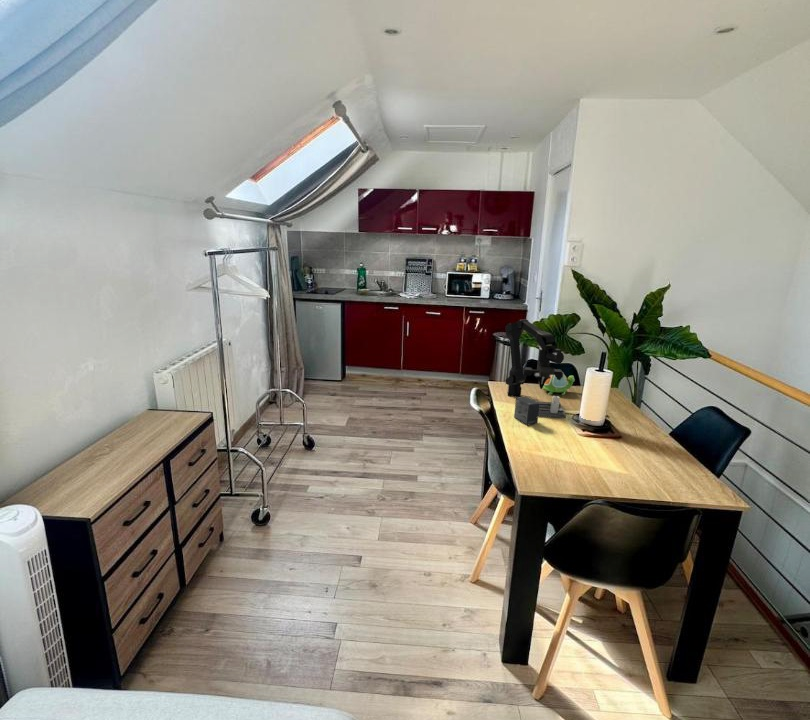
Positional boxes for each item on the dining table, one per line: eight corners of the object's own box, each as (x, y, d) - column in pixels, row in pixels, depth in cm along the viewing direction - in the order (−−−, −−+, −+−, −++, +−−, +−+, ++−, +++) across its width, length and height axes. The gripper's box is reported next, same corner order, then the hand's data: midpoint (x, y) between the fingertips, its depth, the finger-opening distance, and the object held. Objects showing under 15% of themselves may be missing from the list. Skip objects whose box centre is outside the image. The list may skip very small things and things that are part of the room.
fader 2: (551, 413, 222) (552, 403, 221) (550, 410, 225) (551, 400, 224) (557, 413, 222) (558, 403, 220) (556, 411, 225) (557, 401, 223)
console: (533, 416, 223) (534, 411, 222) (529, 403, 240) (530, 399, 239) (566, 418, 221) (566, 414, 220) (559, 405, 238) (560, 401, 237)
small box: (538, 424, 213) (540, 402, 210) (526, 426, 211) (528, 404, 208) (524, 416, 223) (526, 395, 220) (513, 417, 220) (515, 397, 218)
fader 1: (552, 407, 230) (553, 397, 229) (551, 405, 233) (552, 395, 232) (558, 407, 230) (559, 397, 228) (557, 405, 232) (558, 395, 231)
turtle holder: (578, 395, 254) (581, 374, 251) (547, 396, 252) (549, 375, 249) (568, 388, 266) (570, 368, 263) (538, 388, 264) (540, 368, 261)
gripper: (526, 361, 222) (523, 392, 226) (566, 364, 219) (562, 395, 223) (524, 356, 232) (521, 385, 237) (562, 358, 230) (559, 388, 234)
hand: (541, 388), depth 232 cm, fingers closed
